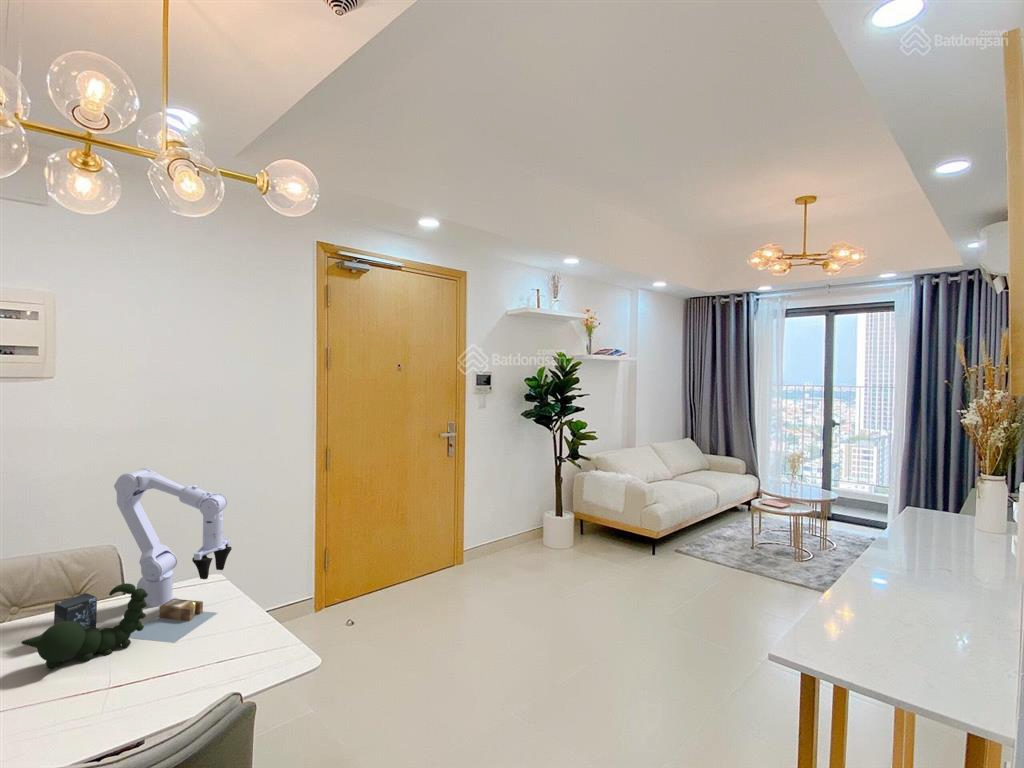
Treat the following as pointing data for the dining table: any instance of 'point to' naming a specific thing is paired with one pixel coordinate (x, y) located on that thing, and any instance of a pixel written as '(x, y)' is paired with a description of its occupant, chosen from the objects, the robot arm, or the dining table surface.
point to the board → (170, 628)
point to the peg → (192, 604)
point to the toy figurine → (90, 633)
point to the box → (77, 610)
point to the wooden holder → (179, 609)
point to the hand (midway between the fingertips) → (212, 574)
